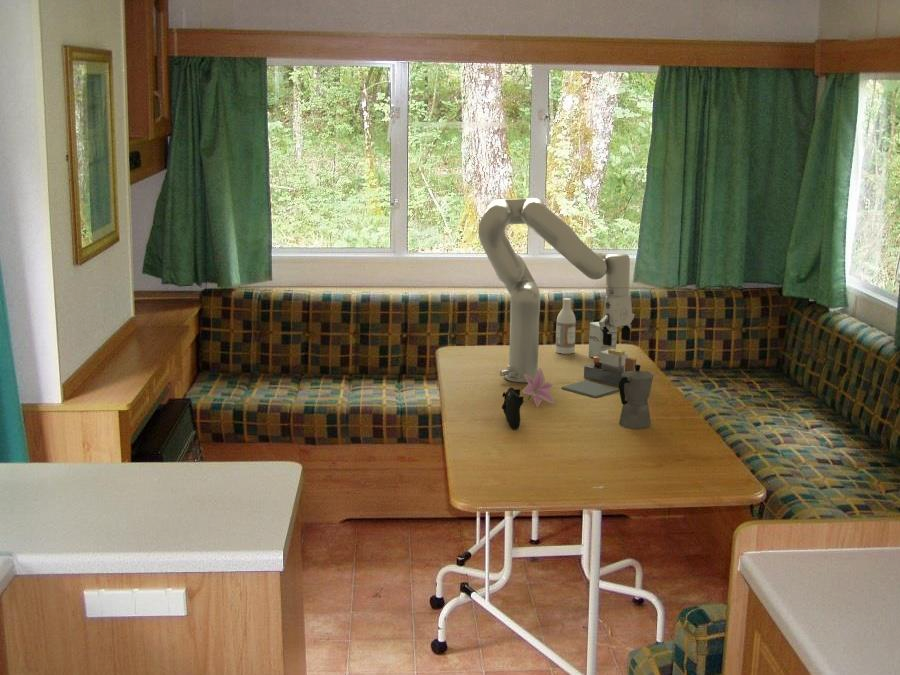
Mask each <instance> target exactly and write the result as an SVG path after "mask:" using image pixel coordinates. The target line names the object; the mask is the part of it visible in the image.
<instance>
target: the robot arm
mask: <svg viewBox="0 0 900 675" xmlns="http://www.w3.org/2000/svg"><path fill="white" fill-rule="evenodd" d="M524 224H525V225H526V226H527V227H529V228H530V229H531V230H532V231H533V232H534V233H536V234H537V235H538V236H539V237H540V238H542V239H543V240H544V241H545V242H546V243H548V244H549V245H550V246H551V248H553V249H555V251H556V252H558V253H559V254H560V255H561V256H562V257H564V258H565V259H566V260H567V261H568V262H569V263H570V264H572V265H573V266H574V267H575V268H576V269H577V270H579V272H581V273H582V274H583V275H585V277H587V278H588V279H591V280H595V281H596V280H600V279H602V278H604V277H605V299H604V306H603V312H602V313H603V315H602V316H603V317H602V318H601V319H600V320H599V321H598V322H599V325H600V329H601V330H602V333H603V345H608V346H611V345H612V334H610V333H611V331H612V329H613V327H614V328H617V329H618V328H621V330H620V331H621V332H620V333H621V335H620V336H621V338H620V339H621V340H622V341H626V342H627V341H628V342H629V341H630V340H631V329H632V324H633V323H634V318H635V313H633V307H632V297H631V295H630V274H631V273H630V270H631V268H630V267H631V262H630V260H631V258H630V256H629V255H628V254H626V253H623V252H622V253H620V252H618V253H617V252H616V253H602V252H596V251H595V252H594V251H593V250H592V249H591V248H590V247H589V246H587V244H585V243H584V241H582V240H581V238H580V237H579V236H578V235H577V233H576V232H575V231H574V230H573V228H572V227H571V226H570V225H569V224H567V223H566V222H565V221H564V220H562V219H561V218H560V217H559V216H557V214H555V213H554V212H553V211H552V210H550V209H549V208H548V207H547V206H546V204H545V203H544V201H542V200H541V199H539V198H535V197H528V198H526V197H525V198H504V199H503V198H502V199H496V200H493V201H492V202H490V203H489V204H488V206H487V208H486V210H485V212H484V213H483V215H482V218H481V219H480V222H479V224H478V239H479V242H480V244H481V246H482V249H483V250H484V252H485V254H486V257H487V258H488V260H489V262H490V264H491V266H492V268H493V269H494V272H495V274H496V277H497V279H499V281H500V282H501V283H503V284H504V287H505V289H506V290H507V292H508V294H509V295H510V304H509V305H510V314H509V316H510V317H509V318H510V319H509V320H510V321H509V322H510V324H509V353H508V354H509V358H508V361H509V362H508V365H507V367H506V369H503V370H500V371H499V376H500V377H504V378H505V380H508V381H509V382H513V383H528V382H527V380H526V378H525V376H524V374H527V375H529V376H531V377H533V378H534V377H535V375H536V373H537V371H538V370H539V368H538V366H539V364H538V363H539V362H538V361H539V338H540V337H539V336H540V333H539V331H540V311H541V294H540V289H539V287H538V285H537V283H536V282H535V279H534V278H533V275H532V273H531V272H530V270H529V268H528V266H527V264H526V262H525V261H524V259H523V258H522V257H521V255H519V254H518V253H516V252H515V250H514V248H513V247H512V245H511V243H510V241H509V238H508V237H507V235H506V229H507V226H508V225H524ZM607 327H609V329H607Z"/></svg>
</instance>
